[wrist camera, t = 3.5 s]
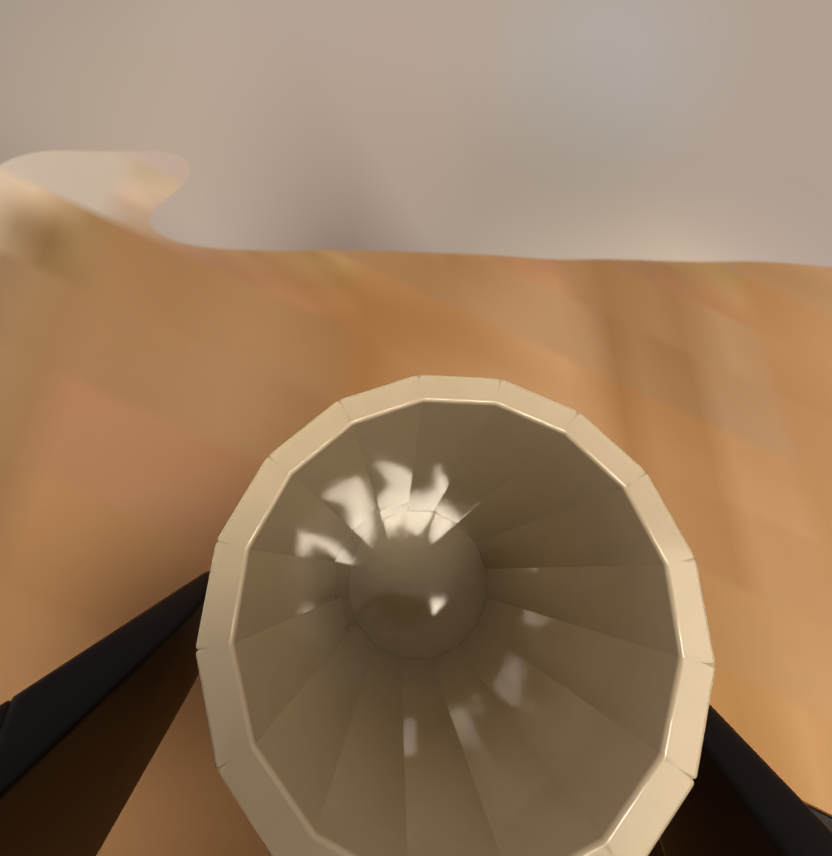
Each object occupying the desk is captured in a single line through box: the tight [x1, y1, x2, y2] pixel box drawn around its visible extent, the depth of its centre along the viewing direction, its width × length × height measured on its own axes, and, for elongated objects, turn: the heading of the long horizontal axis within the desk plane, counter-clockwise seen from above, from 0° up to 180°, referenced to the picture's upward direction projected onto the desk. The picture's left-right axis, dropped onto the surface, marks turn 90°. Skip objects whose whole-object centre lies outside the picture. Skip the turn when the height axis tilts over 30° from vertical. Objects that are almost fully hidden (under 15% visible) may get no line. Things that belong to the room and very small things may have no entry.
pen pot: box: [196, 375, 715, 856], centre depth 11 cm, size 6×6×12 cm
